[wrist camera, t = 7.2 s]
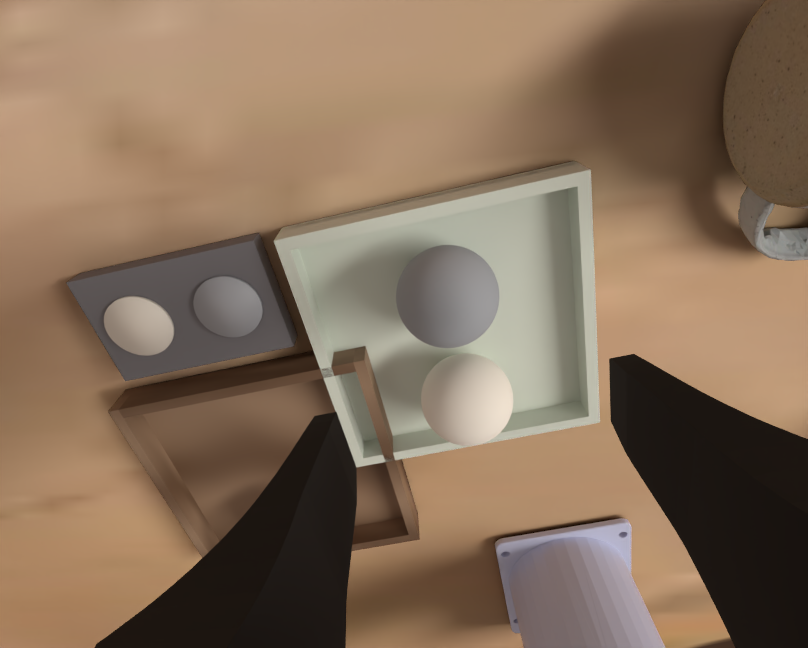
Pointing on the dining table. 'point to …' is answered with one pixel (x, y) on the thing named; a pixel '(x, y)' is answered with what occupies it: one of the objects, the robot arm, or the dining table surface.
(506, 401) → the cream ball
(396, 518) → the walnut tray
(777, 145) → the ceramic mug
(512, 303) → the sage tray
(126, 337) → the tile
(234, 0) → the dining table surface
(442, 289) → the grey ball
